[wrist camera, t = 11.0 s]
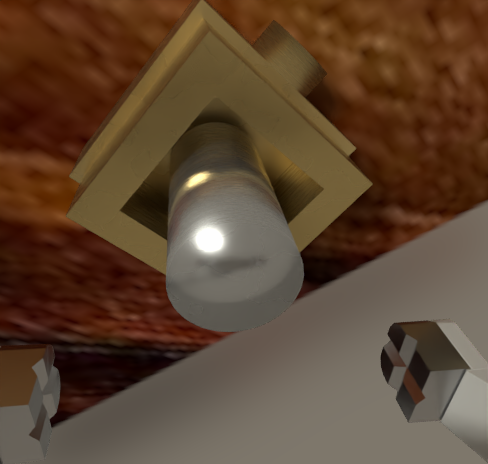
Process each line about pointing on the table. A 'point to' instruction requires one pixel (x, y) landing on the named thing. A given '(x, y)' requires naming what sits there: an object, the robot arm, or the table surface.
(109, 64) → the table surface
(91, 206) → the valve body
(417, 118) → the table surface
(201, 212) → the silver metal cylinder
